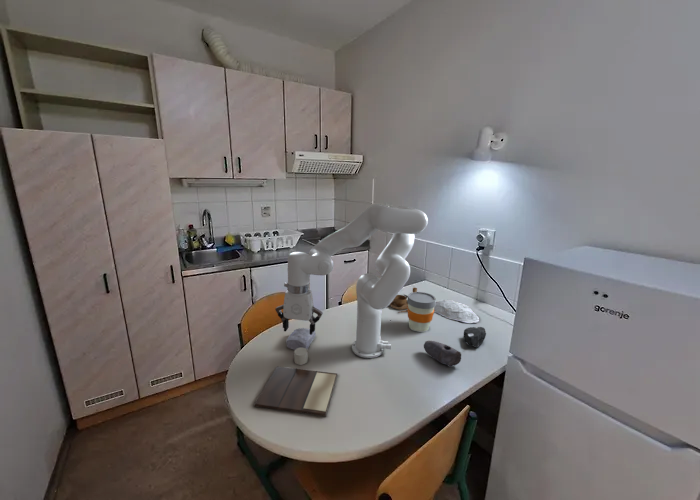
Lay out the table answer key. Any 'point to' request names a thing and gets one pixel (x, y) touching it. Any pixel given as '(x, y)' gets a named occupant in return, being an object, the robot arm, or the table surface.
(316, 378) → the board
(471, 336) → the mineral
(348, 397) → the table surface
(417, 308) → the reusable coffee cup
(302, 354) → the white short cylinder
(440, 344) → the perforated stone tool
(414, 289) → the place setting
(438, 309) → the white rough oval lump
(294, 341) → the block
